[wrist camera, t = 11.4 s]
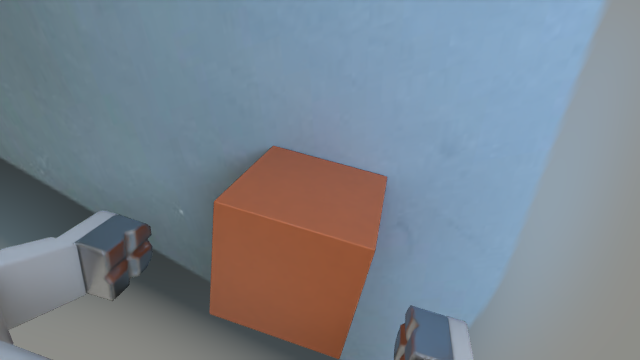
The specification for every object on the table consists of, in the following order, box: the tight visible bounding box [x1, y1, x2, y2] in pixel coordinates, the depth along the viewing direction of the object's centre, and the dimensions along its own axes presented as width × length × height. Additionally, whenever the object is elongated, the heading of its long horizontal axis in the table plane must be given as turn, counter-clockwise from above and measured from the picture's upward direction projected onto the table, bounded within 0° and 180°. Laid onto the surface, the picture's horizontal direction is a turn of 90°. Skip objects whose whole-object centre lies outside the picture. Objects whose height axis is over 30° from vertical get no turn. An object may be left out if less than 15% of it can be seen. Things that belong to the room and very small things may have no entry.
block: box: [210, 146, 387, 359], centre depth 12 cm, size 4×4×4 cm
